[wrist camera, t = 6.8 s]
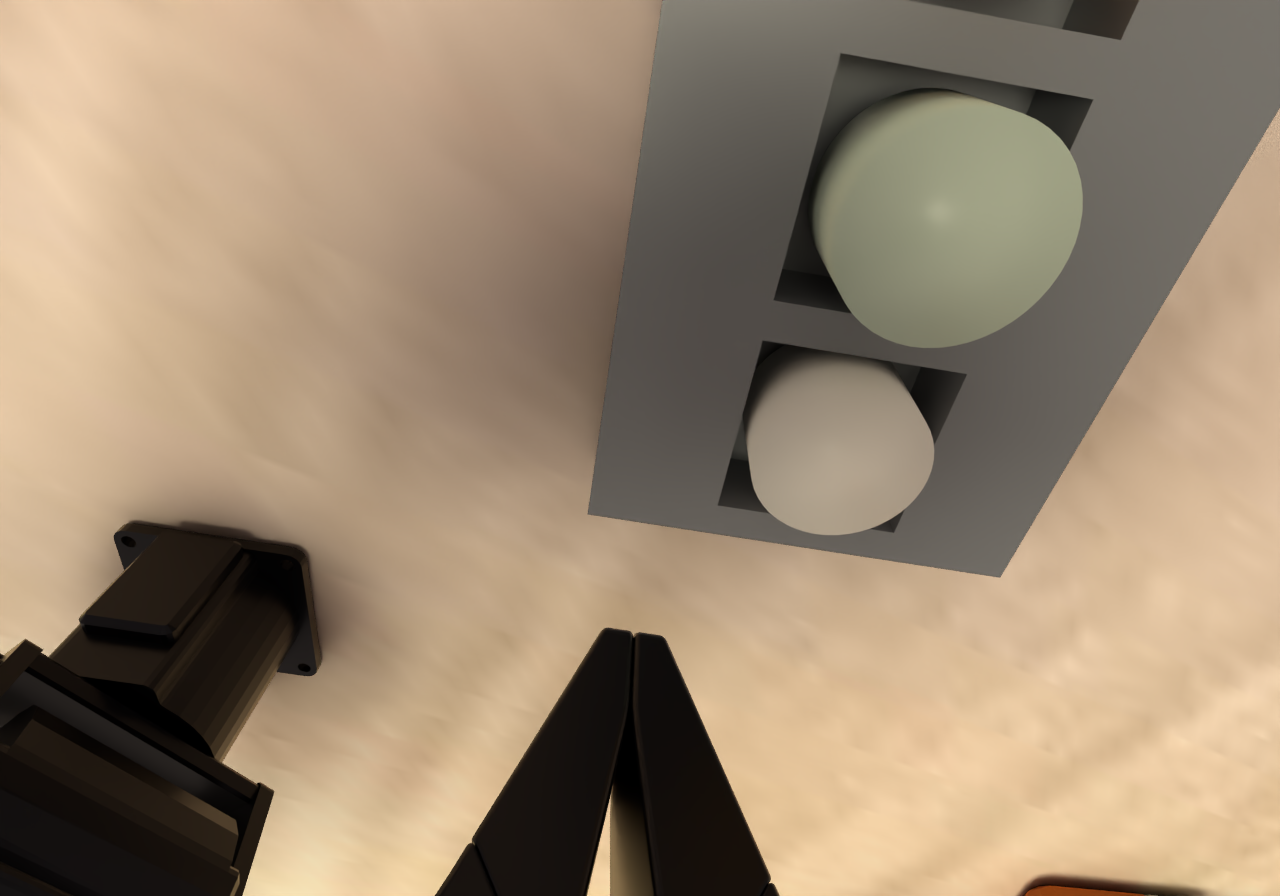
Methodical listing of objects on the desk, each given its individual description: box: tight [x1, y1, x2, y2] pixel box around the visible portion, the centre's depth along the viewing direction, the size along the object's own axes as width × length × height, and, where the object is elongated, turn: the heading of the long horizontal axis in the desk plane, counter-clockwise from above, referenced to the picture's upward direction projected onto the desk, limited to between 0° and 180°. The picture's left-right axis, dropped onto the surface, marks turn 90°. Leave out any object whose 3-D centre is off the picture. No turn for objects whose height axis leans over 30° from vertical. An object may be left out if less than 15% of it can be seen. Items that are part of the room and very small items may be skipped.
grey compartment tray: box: [588, 0, 1280, 578], centre depth 16 cm, size 19×12×3 cm, turn 171°
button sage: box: [808, 88, 1083, 348], centre depth 14 cm, size 4×4×3 cm
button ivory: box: [742, 344, 934, 535], centre depth 18 cm, size 4×4×3 cm
